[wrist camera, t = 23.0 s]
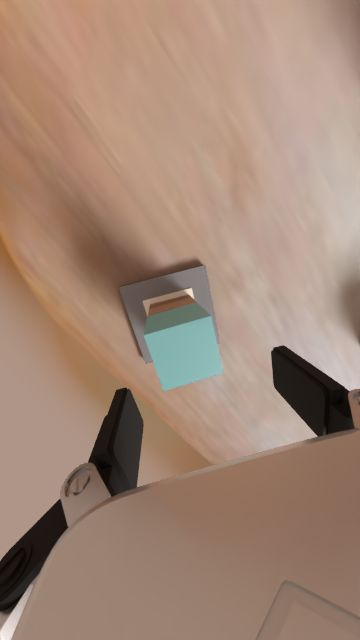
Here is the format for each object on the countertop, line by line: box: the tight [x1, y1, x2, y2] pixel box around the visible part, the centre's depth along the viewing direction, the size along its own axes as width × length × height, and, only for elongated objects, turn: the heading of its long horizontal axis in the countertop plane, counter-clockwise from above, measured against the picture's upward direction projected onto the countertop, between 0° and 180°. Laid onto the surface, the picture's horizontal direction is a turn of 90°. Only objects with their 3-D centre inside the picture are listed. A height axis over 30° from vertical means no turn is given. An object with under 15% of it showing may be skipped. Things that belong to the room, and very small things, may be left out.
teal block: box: [144, 302, 223, 391], centre depth 19 cm, size 6×6×6 cm
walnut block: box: [148, 294, 196, 316], centre depth 24 cm, size 6×6×6 cm
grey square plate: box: [119, 265, 220, 364], centre depth 28 cm, size 13×13×1 cm
